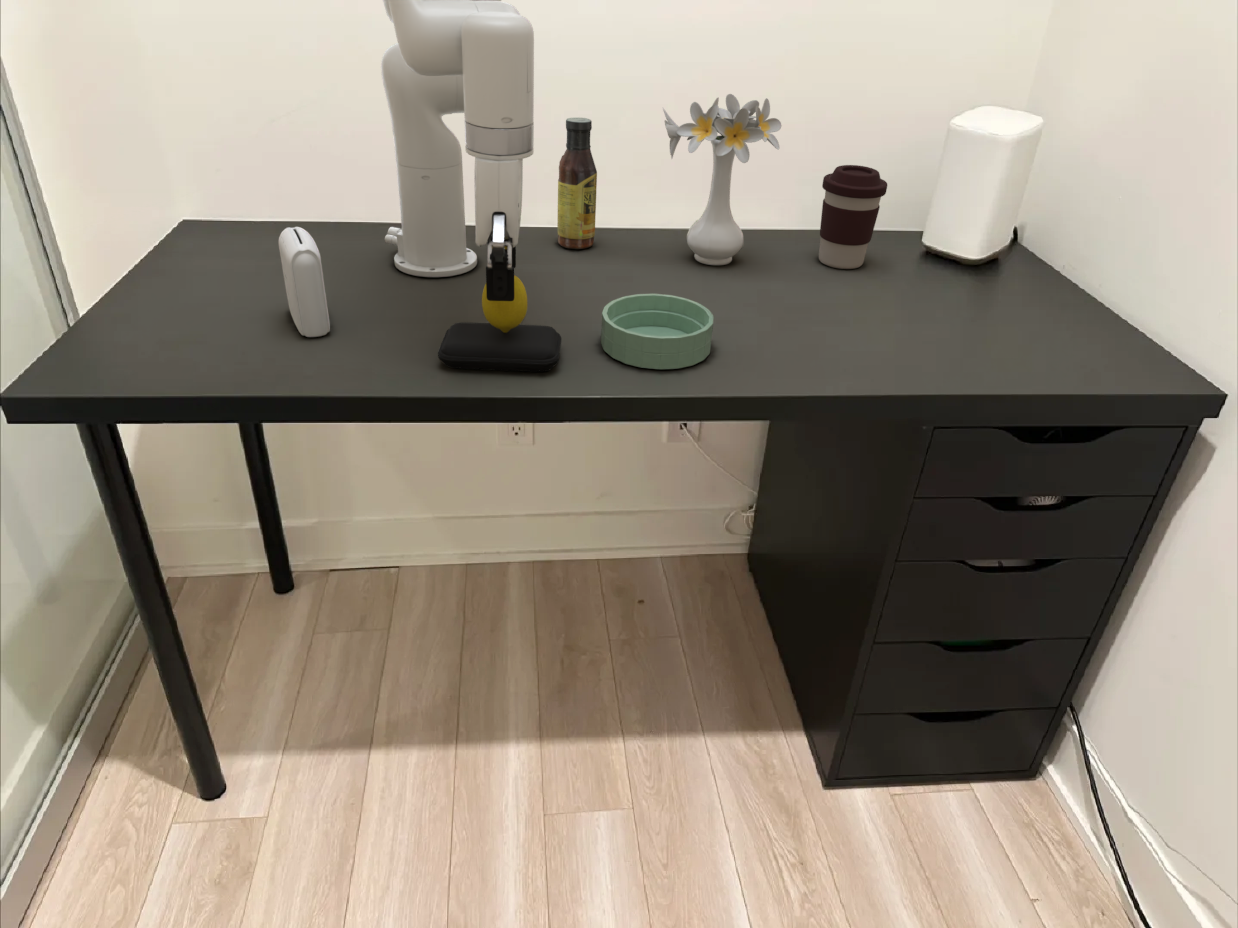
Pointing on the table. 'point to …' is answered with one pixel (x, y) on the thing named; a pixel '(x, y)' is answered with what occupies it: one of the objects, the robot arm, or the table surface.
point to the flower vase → (722, 169)
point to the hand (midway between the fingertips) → (501, 283)
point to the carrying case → (500, 347)
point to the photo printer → (304, 282)
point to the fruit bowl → (656, 331)
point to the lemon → (506, 308)
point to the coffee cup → (849, 214)
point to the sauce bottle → (577, 188)
